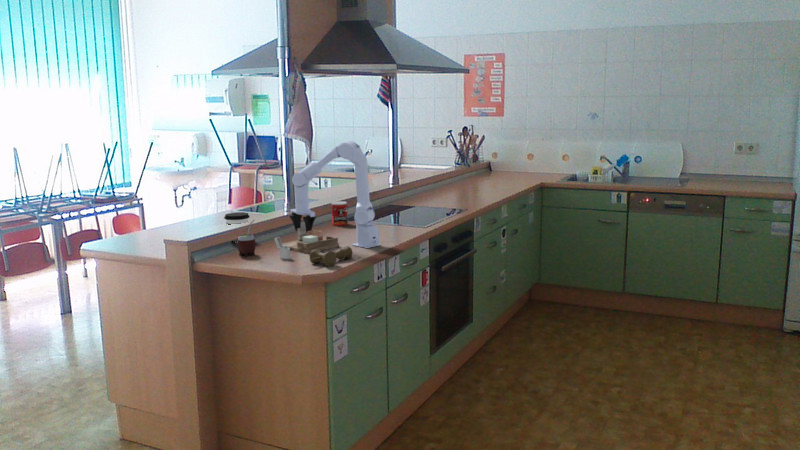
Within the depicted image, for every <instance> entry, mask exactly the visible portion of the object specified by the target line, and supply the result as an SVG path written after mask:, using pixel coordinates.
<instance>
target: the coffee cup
mask: <svg viewBox="0 0 800 450" xmlns="http://www.w3.org/2000/svg"><path fill="white" fill-rule="evenodd" d="M223 219H224V220H225V221H226V225H227V224H228V225H231V224H241V223H246V222H248V223H249V219H250V215H249V213H248V212H244V211H243V212H240V211H239V212H229V213H225V215H224V217H223Z"/></svg>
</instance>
